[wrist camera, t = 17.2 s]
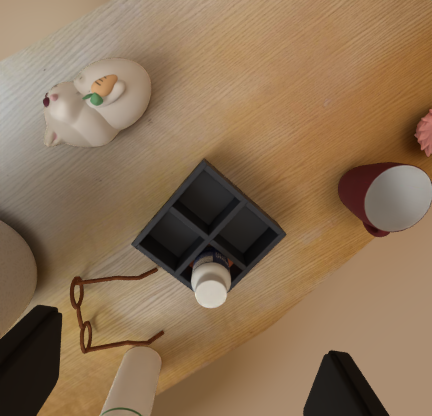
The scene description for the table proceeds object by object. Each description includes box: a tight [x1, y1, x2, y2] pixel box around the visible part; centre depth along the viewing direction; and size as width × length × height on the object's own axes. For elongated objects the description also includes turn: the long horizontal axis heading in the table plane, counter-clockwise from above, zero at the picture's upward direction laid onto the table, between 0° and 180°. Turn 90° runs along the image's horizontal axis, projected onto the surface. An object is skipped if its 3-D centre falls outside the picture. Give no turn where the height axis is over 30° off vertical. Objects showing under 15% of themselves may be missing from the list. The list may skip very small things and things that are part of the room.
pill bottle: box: [191, 245, 231, 308], centre depth 35 cm, size 5×5×10 cm
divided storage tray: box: [131, 158, 286, 293], centre depth 37 cm, size 15×15×5 cm
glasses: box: [70, 268, 164, 354], centre depth 40 cm, size 13×13×5 cm
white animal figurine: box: [43, 58, 151, 148], centre depth 31 cm, size 10×8×15 cm
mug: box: [338, 162, 432, 237], centre depth 34 cm, size 10×8×10 cm
